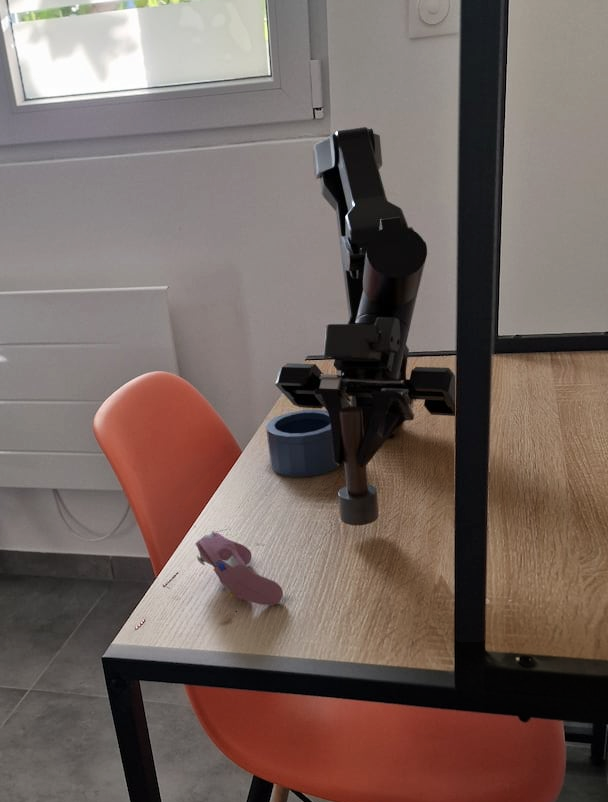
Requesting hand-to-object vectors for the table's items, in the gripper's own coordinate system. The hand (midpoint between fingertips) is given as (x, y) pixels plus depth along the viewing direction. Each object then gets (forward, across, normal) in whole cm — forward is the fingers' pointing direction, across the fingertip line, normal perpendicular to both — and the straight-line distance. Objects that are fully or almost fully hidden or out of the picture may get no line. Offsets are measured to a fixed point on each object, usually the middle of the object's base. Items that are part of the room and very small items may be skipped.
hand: (349, 465), depth 83 cm
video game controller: (+15, -7, -3) cm, 17 cm away
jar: (-6, -14, +19) cm, 24 cm away
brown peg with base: (+4, 0, +6) cm, 7 cm away
